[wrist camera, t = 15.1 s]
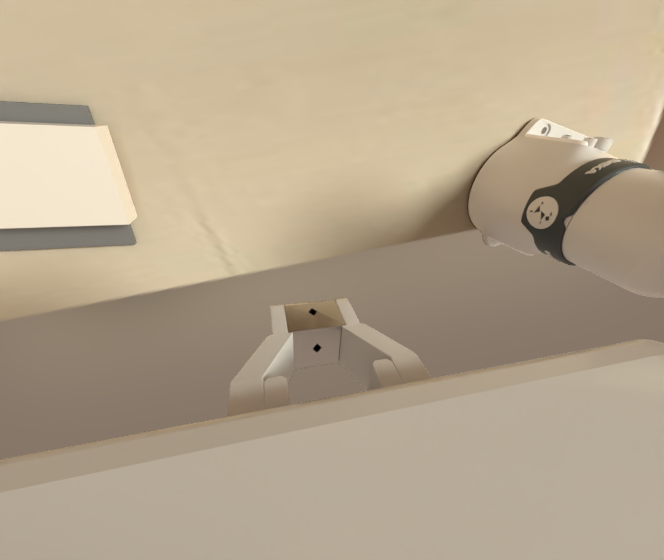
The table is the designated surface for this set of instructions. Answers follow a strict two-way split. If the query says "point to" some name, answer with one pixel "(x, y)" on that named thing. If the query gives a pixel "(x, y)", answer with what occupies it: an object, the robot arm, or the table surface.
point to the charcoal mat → (57, 235)
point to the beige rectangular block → (60, 177)
